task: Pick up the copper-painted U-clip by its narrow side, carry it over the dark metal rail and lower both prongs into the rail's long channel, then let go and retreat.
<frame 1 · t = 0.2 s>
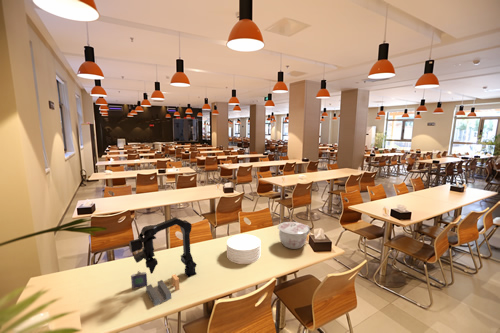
hand: (150, 269, 148), 14 cm above the table, fingers open, 9 cm apart
plate stack: (243, 254, 194), on the table
rail: (158, 294, 146), on the table
chamber pot: (292, 245, 210), on the table
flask: (139, 286, 154), on the table
clip: (175, 287, 153), on the table
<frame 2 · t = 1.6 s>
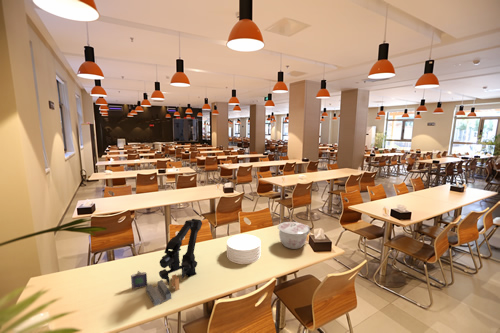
hand: (175, 281, 152), 4 cm above the table, fingers open, 9 cm apart
nothing on the table moved.
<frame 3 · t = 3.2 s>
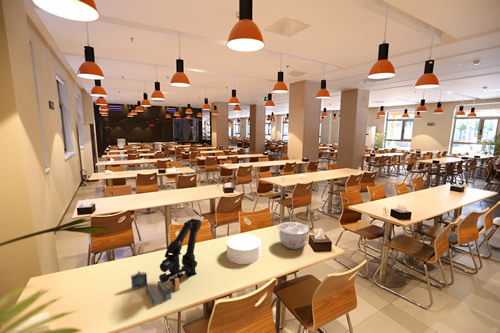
hand: (175, 285, 153), 2 cm above the table, fingers closed on clip, 2 cm apart
clip: (175, 287, 153), on the table, touching gripper
everything else where it was.
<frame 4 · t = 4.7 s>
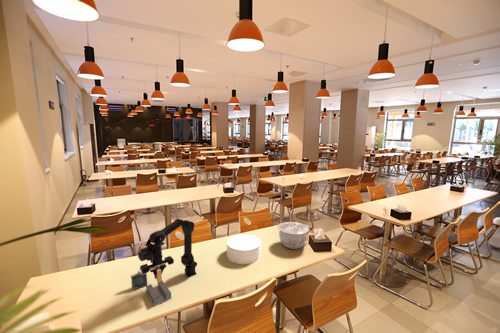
hand: (157, 277, 144), 12 cm above the table, fingers closed on clip
clip: (158, 279, 144), point 11 cm above the table, touching gripper
everything else where it was.
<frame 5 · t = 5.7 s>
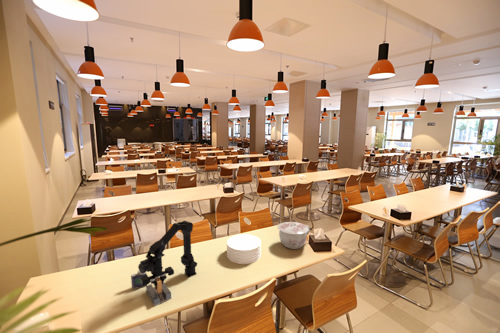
hand: (158, 288, 145), 5 cm above the table, fingers closed on clip, 2 cm apart
clip: (158, 290, 145), point 3 cm above the table, touching gripper
everything else where it was.
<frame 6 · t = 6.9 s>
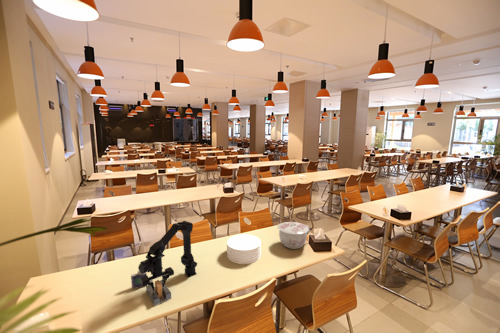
hand: (158, 288, 145), 4 cm above the table, fingers open, 5 cm apart
clip: (158, 293, 146), point 1 cm above the table, touching rail
everything else where it was.
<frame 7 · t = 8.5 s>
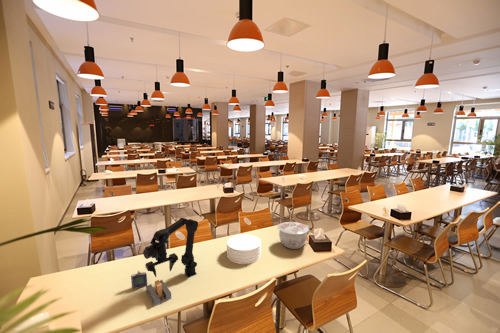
hand: (163, 273, 148), 11 cm above the table, fingers open, 9 cm apart
nothing on the table moved.
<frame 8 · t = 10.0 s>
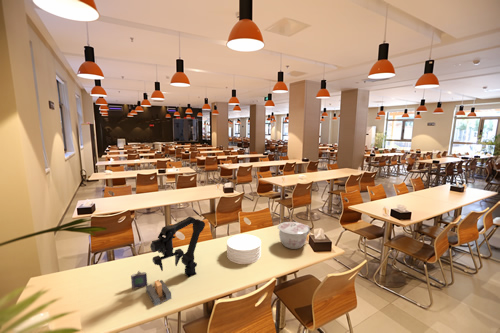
hand: (169, 268, 154), 12 cm above the table, fingers open, 9 cm apart
nothing on the table moved.
at the end: clip inside the target area on the rail (0.3 cm from its centre), point 0.8 cm above the rail's base; clip tilted 0°; the gripper is holding nothing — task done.
